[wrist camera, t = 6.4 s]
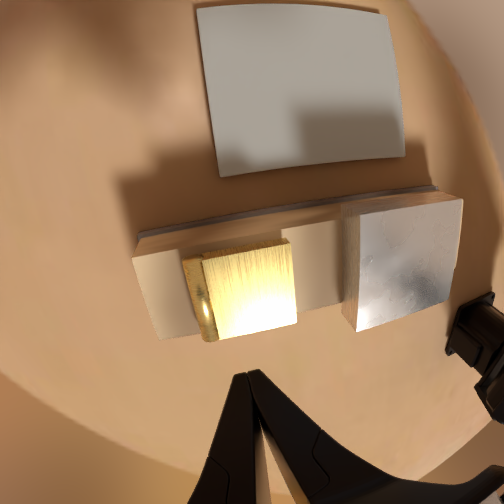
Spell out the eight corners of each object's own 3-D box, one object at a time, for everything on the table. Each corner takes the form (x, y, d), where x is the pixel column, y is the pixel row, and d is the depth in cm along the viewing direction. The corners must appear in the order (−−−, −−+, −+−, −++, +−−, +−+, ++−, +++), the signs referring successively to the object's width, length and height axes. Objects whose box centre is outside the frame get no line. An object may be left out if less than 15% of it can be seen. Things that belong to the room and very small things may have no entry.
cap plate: (439, 190, 15) (462, 198, 13) (430, 285, 18) (448, 299, 16) (340, 204, 15) (360, 215, 13) (341, 312, 17) (356, 332, 15)
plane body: (432, 185, 19) (465, 196, 16) (428, 251, 21) (456, 269, 18) (138, 232, 17) (126, 254, 14) (161, 310, 19) (156, 343, 16)
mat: (381, 17, 14) (386, 15, 13) (400, 155, 18) (405, 156, 17) (196, 12, 13) (196, 8, 12) (219, 176, 16) (220, 177, 16)
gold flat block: (182, 256, 14) (285, 236, 14) (201, 332, 15) (291, 313, 16) (181, 265, 13) (291, 243, 13) (202, 343, 15) (297, 323, 15)
